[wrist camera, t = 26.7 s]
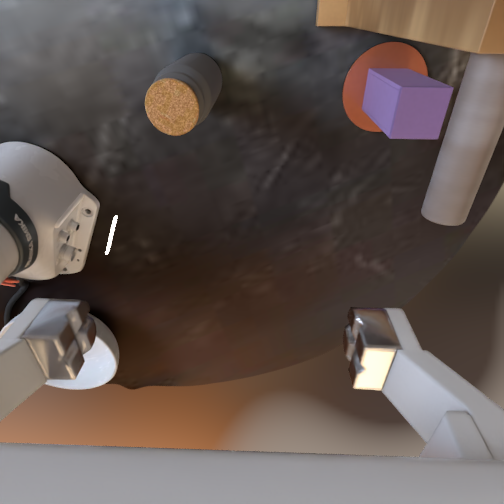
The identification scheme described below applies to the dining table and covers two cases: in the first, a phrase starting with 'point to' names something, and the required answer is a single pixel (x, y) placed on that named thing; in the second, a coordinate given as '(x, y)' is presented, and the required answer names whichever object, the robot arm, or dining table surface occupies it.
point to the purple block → (406, 103)
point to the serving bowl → (91, 360)
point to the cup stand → (470, 93)
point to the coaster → (356, 77)
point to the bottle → (183, 93)
